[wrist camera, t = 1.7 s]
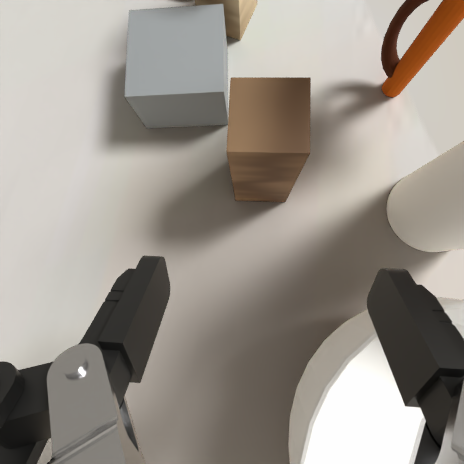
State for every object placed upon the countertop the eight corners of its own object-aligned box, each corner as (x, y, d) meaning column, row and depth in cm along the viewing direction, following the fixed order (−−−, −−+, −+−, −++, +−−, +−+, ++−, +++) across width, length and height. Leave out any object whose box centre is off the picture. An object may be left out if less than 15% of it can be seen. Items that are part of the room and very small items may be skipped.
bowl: (231, 379, 22) (221, 442, 14) (420, 245, 23) (516, 229, 15) (386, 626, 19) (491, 896, 11) (599, 462, 20) (851, 598, 12)
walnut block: (235, 200, 25) (226, 151, 15) (237, 154, 25) (230, 77, 15) (285, 202, 24) (309, 153, 14) (286, 154, 25) (310, 77, 15)
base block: (147, 129, 27) (124, 96, 22) (150, 57, 28) (128, 10, 23) (228, 125, 26) (223, 91, 21) (227, 52, 27) (223, 3, 22)
